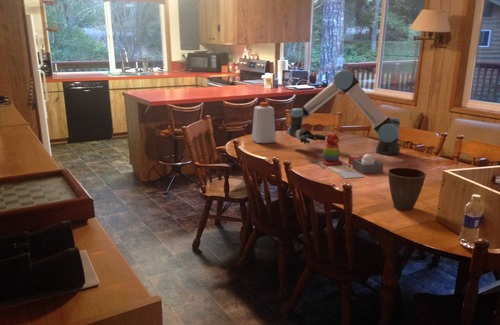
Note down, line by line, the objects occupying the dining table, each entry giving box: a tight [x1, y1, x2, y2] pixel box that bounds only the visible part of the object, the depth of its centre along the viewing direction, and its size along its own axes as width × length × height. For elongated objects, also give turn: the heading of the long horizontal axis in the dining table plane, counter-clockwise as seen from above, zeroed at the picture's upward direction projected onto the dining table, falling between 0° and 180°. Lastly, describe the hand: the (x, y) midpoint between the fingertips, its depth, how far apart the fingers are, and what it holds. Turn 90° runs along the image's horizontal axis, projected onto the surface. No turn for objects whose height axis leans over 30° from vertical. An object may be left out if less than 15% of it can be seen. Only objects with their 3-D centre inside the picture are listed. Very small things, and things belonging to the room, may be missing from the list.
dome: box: [361, 153, 376, 164], centre depth 237 cm, size 7×7×8 cm
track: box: [311, 158, 365, 179], centre depth 242 cm, size 17×37×1 cm, turn 15°
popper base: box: [351, 158, 384, 175], centre depth 238 cm, size 12×12×5 cm
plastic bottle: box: [251, 101, 276, 144], centre depth 304 cm, size 15×15×28 cm
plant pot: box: [387, 167, 427, 212], centre depth 182 cm, size 15×15×16 cm
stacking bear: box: [322, 133, 343, 167], centre depth 249 cm, size 11×10×18 cm
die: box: [347, 154, 362, 166], centre depth 250 cm, size 5×5×6 cm
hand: (322, 141), depth 256 cm, fingers open, 13 cm apart
